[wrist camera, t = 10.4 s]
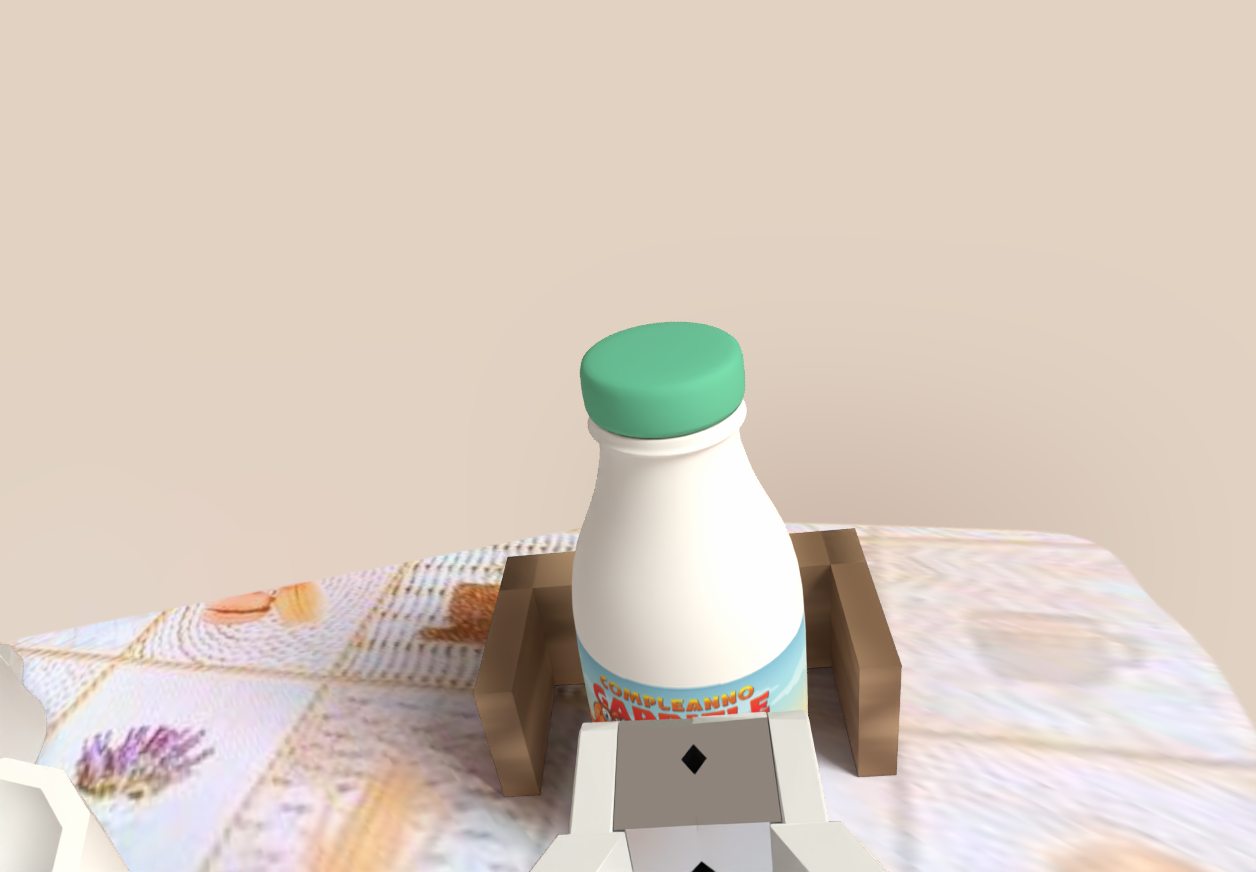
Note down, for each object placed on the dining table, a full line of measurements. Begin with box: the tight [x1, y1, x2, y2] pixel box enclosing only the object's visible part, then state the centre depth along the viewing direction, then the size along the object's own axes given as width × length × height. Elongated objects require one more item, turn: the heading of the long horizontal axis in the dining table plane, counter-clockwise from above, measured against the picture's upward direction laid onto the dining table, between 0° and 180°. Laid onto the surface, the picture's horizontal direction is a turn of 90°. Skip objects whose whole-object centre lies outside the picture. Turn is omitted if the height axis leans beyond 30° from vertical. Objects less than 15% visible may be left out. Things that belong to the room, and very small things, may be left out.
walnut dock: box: [473, 528, 902, 797], centre depth 36 cm, size 16×8×6 cm, turn 88°
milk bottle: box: [572, 322, 808, 722], centre depth 28 cm, size 8×8×20 cm
